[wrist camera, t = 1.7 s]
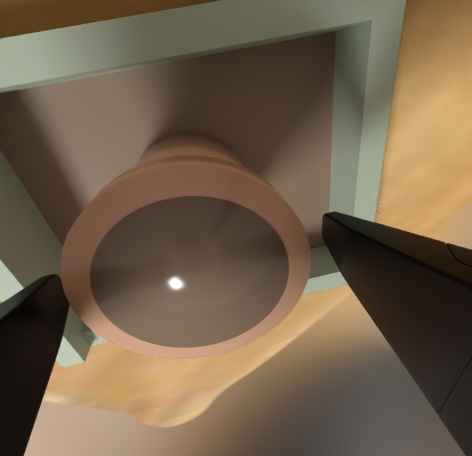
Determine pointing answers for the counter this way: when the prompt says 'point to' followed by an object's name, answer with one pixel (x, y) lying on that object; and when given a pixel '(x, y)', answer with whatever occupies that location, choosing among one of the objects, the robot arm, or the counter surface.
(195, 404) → the counter surface
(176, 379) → the counter surface
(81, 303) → the pot
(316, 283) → the green shallow rectangular frame
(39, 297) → the robot arm
